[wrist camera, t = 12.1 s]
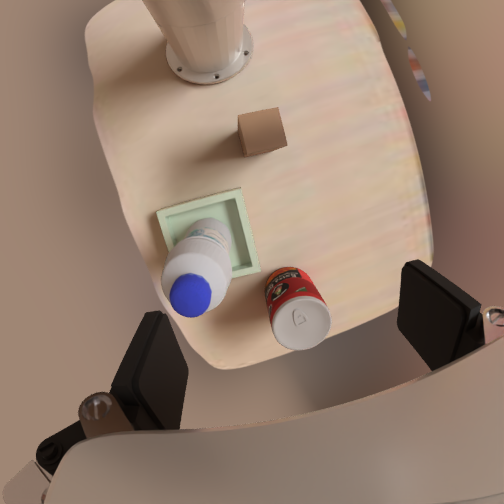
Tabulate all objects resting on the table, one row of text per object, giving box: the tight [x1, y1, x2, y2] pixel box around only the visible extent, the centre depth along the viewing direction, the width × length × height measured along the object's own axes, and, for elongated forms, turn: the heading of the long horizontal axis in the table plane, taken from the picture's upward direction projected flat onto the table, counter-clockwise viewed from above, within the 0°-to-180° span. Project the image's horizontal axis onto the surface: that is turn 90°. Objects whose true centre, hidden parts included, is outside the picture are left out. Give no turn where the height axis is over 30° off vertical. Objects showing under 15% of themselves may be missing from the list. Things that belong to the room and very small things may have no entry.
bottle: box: [161, 218, 232, 317], centre depth 30 cm, size 7×7×20 cm
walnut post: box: [238, 107, 287, 157], centre depth 30 cm, size 4×4×12 cm
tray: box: [156, 187, 261, 278], centre depth 39 cm, size 12×12×2 cm
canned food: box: [265, 267, 332, 350], centre depth 38 cm, size 8×8×11 cm
